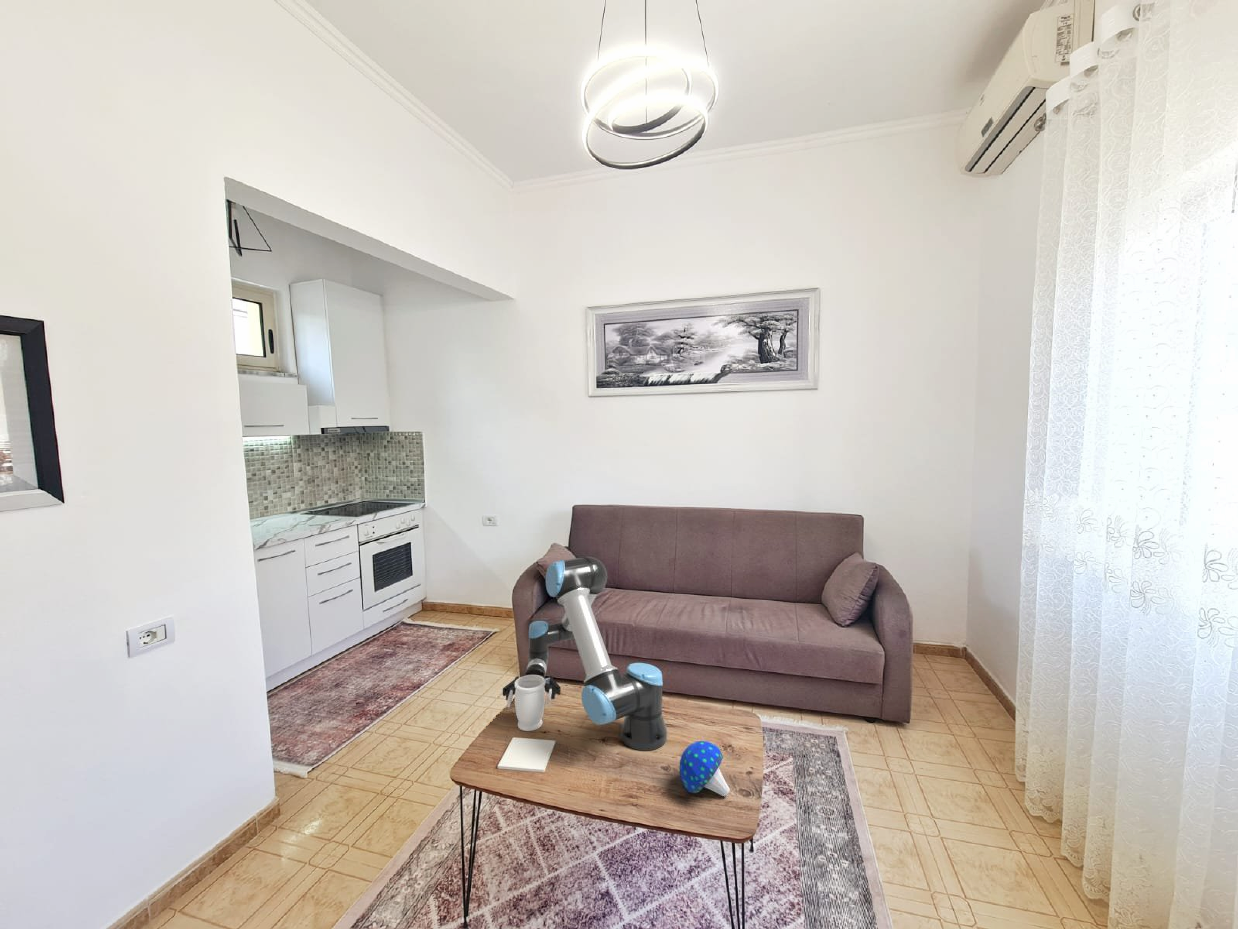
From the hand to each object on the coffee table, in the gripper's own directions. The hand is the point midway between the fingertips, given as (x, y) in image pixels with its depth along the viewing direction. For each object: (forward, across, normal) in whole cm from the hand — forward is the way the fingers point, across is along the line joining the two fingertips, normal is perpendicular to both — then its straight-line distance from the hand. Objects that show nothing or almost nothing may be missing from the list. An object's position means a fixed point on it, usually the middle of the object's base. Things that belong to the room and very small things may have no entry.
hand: (528, 703), depth 165 cm
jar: (-2, 0, -9) cm, 9 cm away
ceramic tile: (+15, -1, -8) cm, 17 cm away
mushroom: (+32, -52, -9) cm, 62 cm away
